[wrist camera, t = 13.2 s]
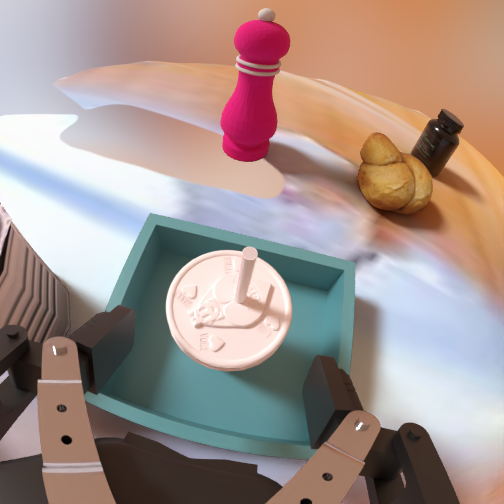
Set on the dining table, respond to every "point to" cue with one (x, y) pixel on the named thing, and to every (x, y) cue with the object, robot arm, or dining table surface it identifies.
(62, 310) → the can
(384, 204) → the bread roll
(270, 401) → the tote
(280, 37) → the pepper mill
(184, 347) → the smoothie
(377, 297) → the dining table surface
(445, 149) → the supplement bottle
